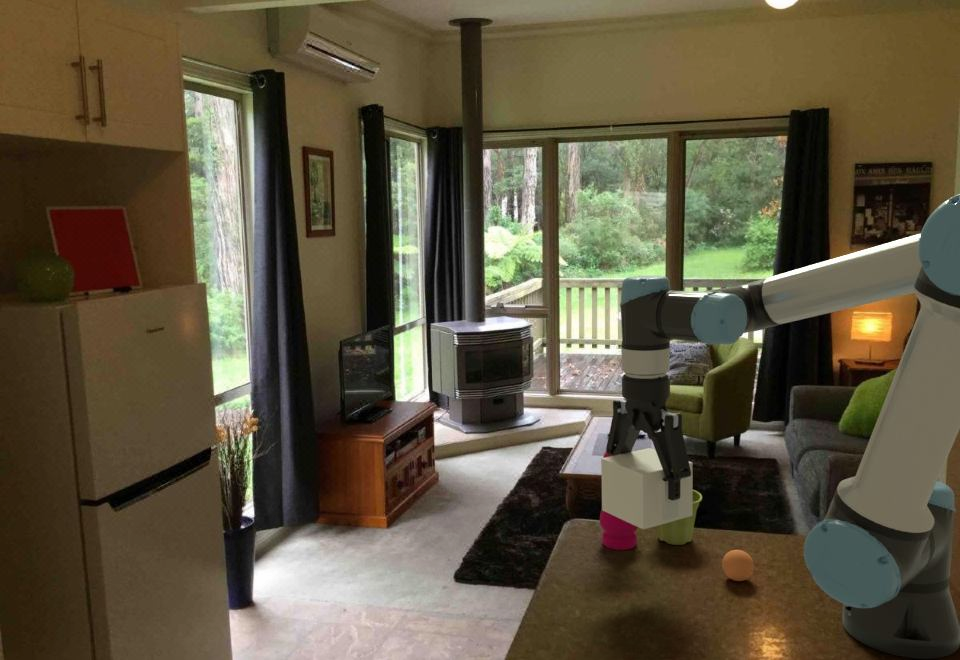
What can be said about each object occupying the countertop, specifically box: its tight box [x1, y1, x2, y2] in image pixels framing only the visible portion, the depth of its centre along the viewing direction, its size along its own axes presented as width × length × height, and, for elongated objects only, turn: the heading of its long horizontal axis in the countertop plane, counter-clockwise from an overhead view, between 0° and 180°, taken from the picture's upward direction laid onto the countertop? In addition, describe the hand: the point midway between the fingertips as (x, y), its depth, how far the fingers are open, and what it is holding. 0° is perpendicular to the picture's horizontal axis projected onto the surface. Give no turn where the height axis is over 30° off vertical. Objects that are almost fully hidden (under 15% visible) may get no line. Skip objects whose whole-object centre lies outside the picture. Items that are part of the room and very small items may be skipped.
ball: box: [721, 549, 755, 582], centre depth 135 cm, size 5×5×5 cm
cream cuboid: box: [600, 447, 694, 530], centre depth 132 cm, size 10×10×9 cm
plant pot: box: [656, 489, 703, 546], centre depth 151 cm, size 9×9×9 cm
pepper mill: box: [599, 444, 639, 551], centre depth 149 cm, size 7×7×20 cm
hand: (646, 508), depth 132 cm, fingers closed on cream cuboid, 10 cm apart
